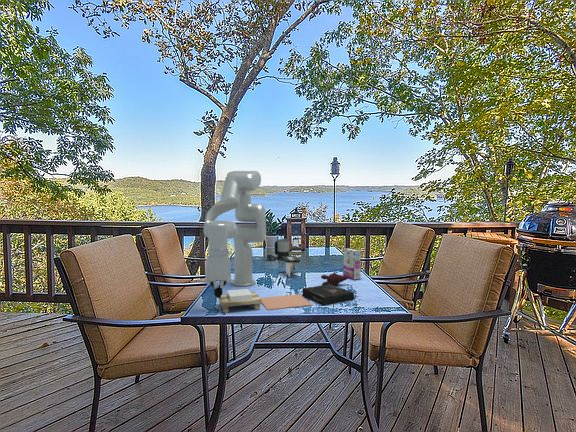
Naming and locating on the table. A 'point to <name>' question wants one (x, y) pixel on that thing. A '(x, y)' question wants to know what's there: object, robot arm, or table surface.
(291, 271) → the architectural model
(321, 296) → the portable cd player
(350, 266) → the candy bar box
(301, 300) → the mat
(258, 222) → the robot arm
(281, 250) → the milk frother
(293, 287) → the table surface
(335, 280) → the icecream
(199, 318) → the table surface
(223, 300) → the serving board
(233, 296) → the coaster
